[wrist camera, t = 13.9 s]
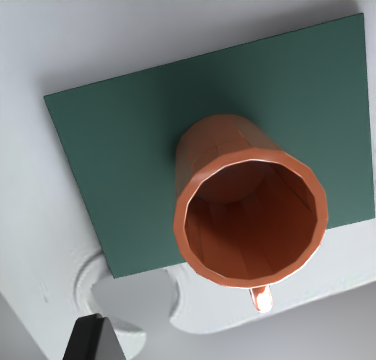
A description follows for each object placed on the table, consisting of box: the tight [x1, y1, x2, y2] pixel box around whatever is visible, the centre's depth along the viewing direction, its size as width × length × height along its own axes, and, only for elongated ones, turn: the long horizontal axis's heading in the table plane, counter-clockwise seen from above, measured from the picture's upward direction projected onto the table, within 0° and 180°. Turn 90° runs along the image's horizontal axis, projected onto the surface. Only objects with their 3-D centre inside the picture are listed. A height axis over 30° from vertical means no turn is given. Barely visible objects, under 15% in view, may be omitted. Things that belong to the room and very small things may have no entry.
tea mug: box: [172, 113, 328, 312], centre depth 19 cm, size 10×7×9 cm
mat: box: [44, 13, 375, 279], centre depth 23 cm, size 20×14×1 cm
